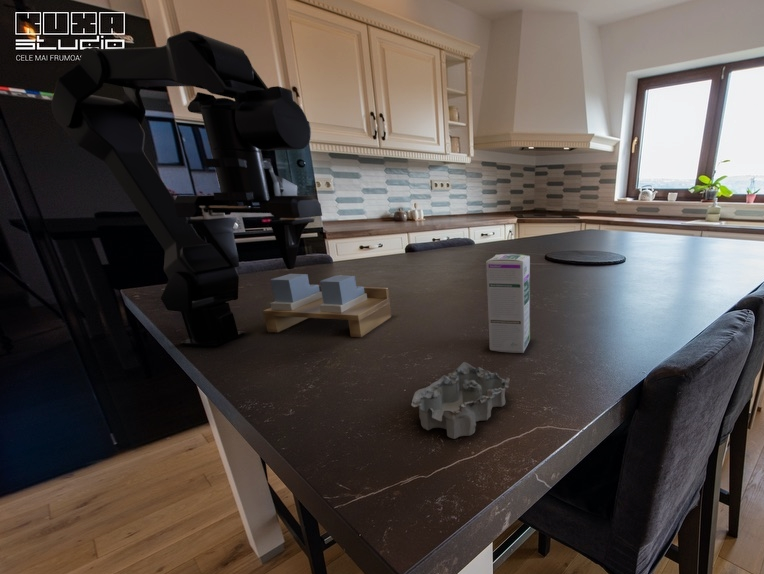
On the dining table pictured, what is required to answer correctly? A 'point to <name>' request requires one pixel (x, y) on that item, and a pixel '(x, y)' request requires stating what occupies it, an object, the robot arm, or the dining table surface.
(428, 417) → the egg carton
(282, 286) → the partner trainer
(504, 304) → the syrup box
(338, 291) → the trainer
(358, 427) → the dining table surface
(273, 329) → the shoe shelf
